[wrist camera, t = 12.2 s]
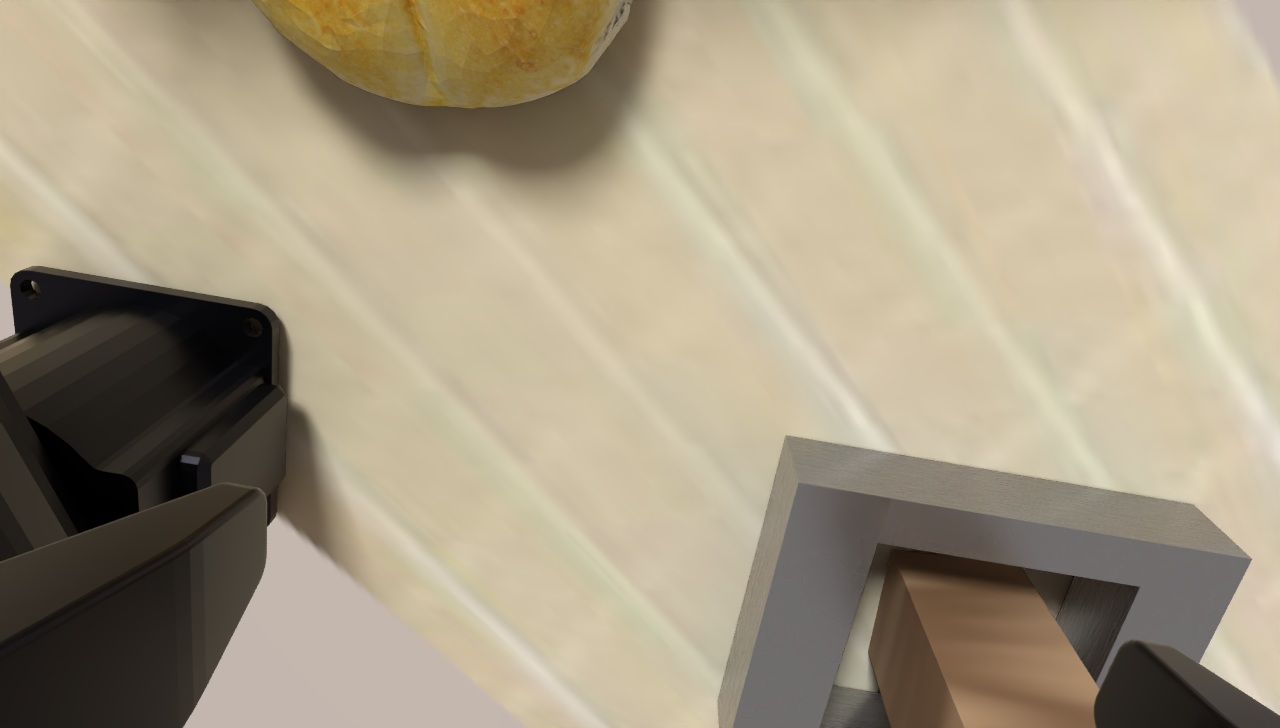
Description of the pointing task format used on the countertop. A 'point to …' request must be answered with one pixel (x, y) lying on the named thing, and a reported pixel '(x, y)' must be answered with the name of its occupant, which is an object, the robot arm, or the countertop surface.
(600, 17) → the bread roll
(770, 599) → the grey rectangular frame
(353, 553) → the countertop surface
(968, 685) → the walnut pin
